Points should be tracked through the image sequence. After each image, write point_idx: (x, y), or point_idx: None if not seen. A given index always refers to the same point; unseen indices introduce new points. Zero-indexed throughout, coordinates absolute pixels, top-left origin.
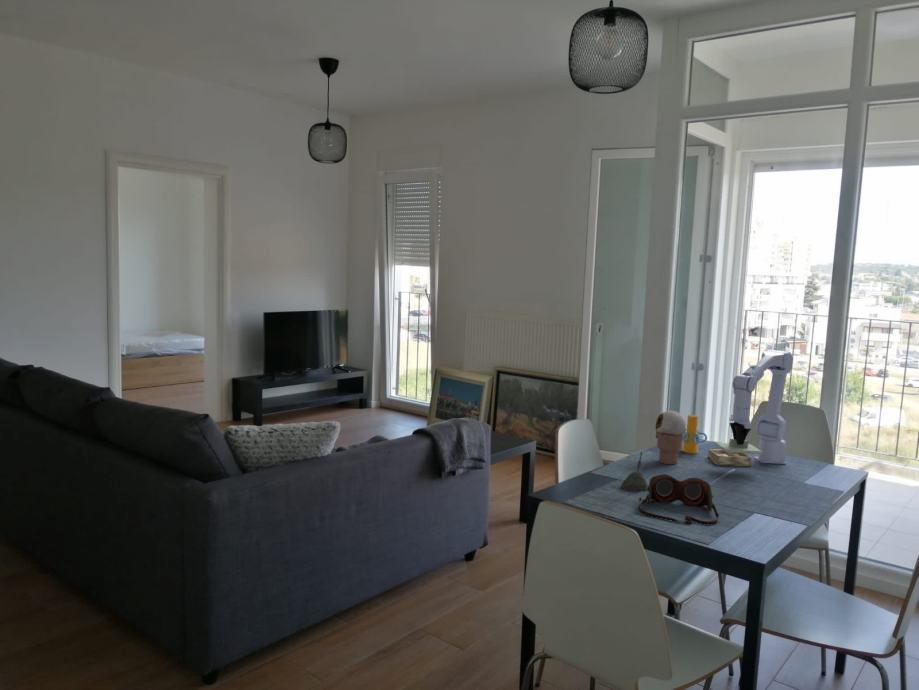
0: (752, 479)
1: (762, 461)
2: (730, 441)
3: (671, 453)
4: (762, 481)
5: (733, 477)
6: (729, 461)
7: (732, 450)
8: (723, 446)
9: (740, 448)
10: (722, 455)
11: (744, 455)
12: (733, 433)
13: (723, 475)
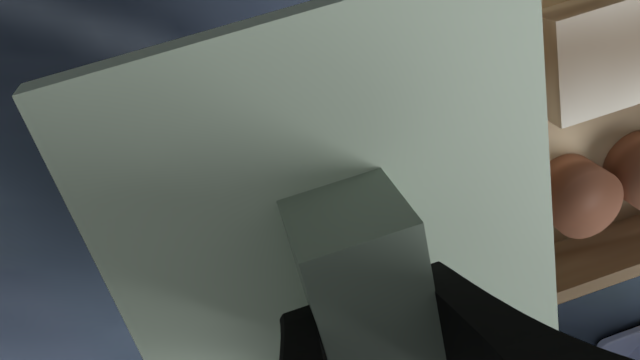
0: (48, 276)
1: (611, 347)
2: (361, 219)
3: None
4: (30, 347)
5: (10, 112)
6: None
7: (70, 208)
8: (244, 72)
9: (248, 319)
10: (629, 53)
11: (631, 254)
12: (495, 343)
13: (31, 10)
